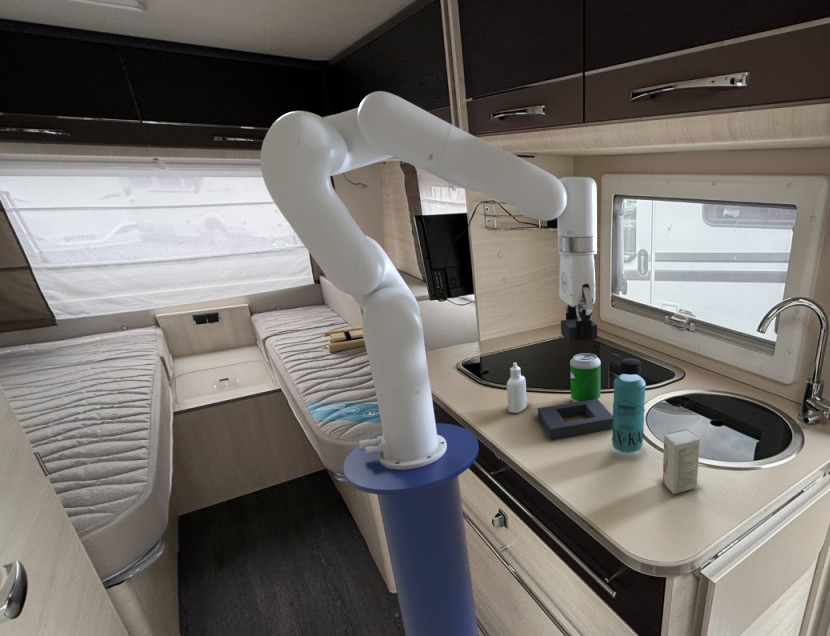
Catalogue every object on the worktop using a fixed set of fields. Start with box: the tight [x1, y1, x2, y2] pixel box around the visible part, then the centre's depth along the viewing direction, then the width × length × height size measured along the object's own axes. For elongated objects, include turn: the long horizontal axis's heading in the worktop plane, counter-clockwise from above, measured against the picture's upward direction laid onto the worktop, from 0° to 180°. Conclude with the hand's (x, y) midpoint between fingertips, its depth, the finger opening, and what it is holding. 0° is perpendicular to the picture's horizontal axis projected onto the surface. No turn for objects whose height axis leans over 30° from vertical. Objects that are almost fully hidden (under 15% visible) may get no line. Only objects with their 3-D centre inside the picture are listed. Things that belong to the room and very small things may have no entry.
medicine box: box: [662, 428, 701, 495], centre depth 84 cm, size 5×4×10 cm
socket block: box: [537, 399, 613, 440], centre depth 108 cm, size 15×11×2 cm
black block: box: [560, 319, 598, 343], centre depth 97 cm, size 6×6×3 cm
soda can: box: [569, 352, 602, 403], centre depth 117 cm, size 8×8×12 cm
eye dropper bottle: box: [506, 362, 528, 414], centre depth 113 cm, size 4×6×12 cm
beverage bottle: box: [611, 357, 647, 454], centre depth 93 cm, size 6×7×20 cm
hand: (578, 333), depth 97 cm, fingers closed on black block, 6 cm apart
